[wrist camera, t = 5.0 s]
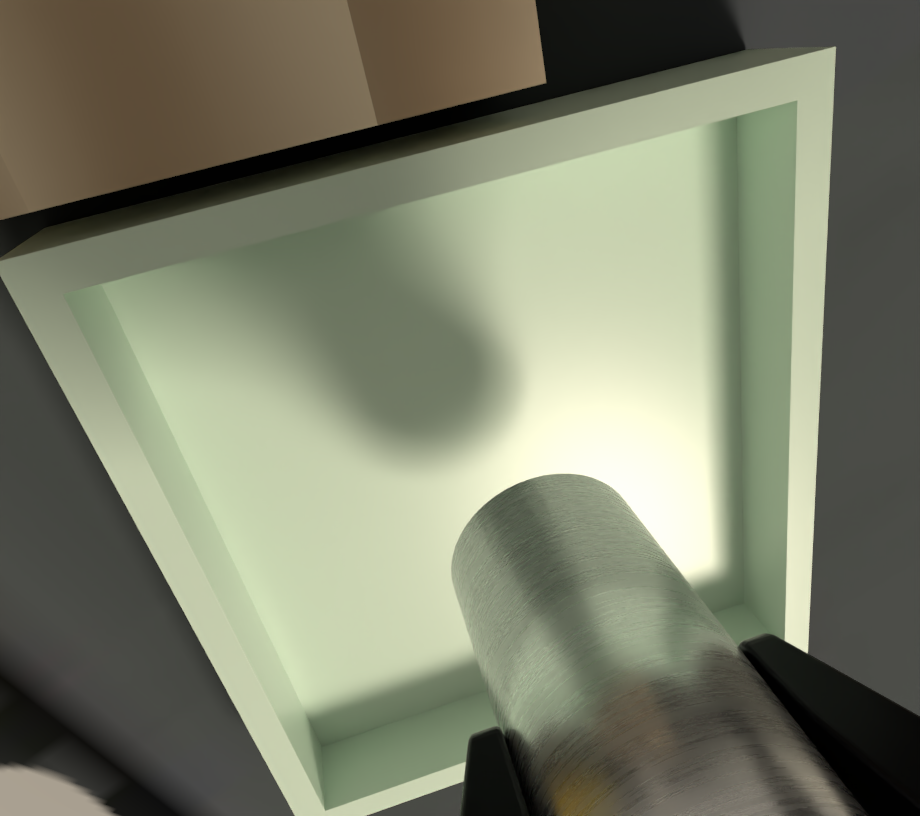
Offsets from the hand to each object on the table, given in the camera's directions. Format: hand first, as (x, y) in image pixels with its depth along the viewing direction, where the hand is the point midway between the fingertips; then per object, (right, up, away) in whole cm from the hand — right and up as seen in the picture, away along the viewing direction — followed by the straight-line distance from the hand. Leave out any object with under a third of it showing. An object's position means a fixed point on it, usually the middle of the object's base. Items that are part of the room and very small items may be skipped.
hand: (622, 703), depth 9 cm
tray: (-1, +3, +6) cm, 6 cm away
